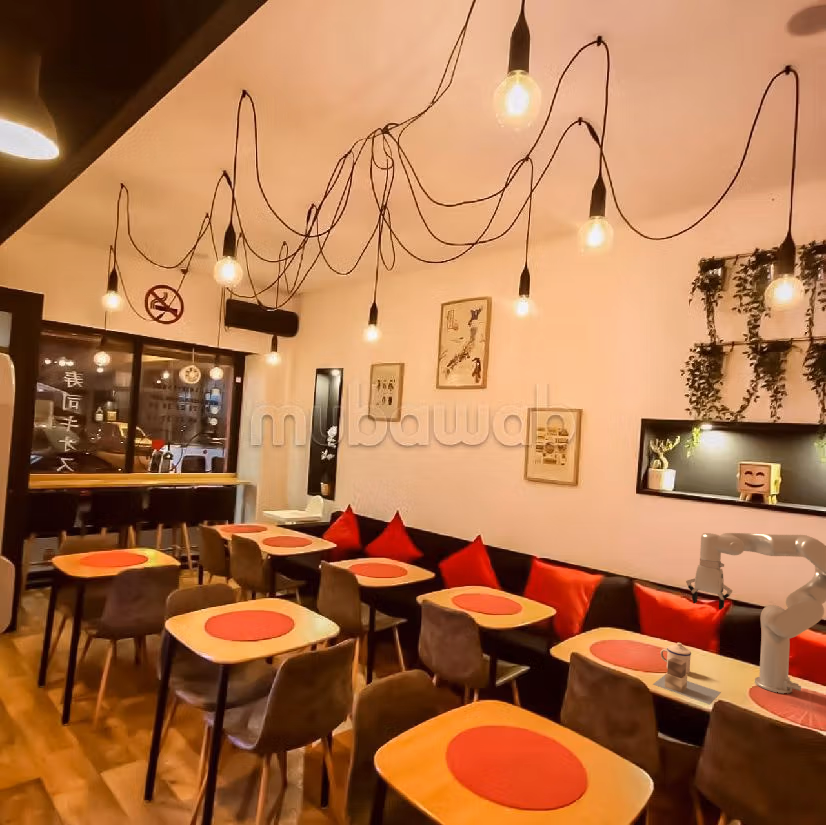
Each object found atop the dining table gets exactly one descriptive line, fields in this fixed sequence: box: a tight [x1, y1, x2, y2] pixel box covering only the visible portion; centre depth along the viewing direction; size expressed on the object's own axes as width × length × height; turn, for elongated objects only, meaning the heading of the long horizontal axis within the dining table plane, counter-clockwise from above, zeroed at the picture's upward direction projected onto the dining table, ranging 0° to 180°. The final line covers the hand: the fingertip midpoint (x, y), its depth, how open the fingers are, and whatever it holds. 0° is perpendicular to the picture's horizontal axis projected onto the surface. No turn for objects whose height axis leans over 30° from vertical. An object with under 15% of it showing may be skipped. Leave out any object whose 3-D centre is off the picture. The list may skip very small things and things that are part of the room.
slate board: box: [652, 674, 722, 705], centre depth 214 cm, size 20×15×1 cm
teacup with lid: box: [659, 642, 692, 675], centre depth 233 cm, size 12×9×12 cm
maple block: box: [664, 672, 688, 693], centre depth 214 cm, size 6×6×5 cm
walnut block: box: [666, 657, 687, 678], centre depth 214 cm, size 5×5×5 cm
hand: (707, 605), depth 231 cm, fingers open, 9 cm apart
